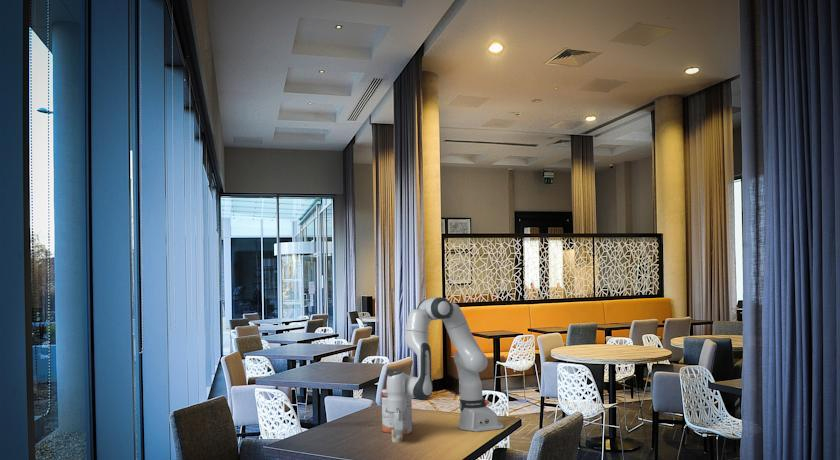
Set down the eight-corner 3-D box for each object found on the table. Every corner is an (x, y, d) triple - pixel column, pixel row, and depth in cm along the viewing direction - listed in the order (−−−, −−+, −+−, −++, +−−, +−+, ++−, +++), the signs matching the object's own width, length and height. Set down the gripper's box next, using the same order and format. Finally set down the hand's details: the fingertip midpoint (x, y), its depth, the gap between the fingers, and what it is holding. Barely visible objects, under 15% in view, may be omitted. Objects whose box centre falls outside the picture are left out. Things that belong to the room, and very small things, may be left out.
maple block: (401, 439, 295) (401, 428, 296) (402, 441, 291) (402, 430, 291) (391, 440, 295) (391, 429, 295) (392, 442, 290) (392, 431, 291)
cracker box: (381, 432, 309) (381, 389, 311) (388, 429, 315) (387, 387, 316) (406, 435, 303) (405, 391, 305) (412, 432, 308) (411, 389, 310)
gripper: (405, 410, 284) (406, 441, 283) (400, 401, 304) (401, 431, 303) (392, 411, 283) (392, 442, 282) (387, 402, 303) (388, 431, 302)
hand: (397, 436), depth 293 cm, fingers open, 5 cm apart
